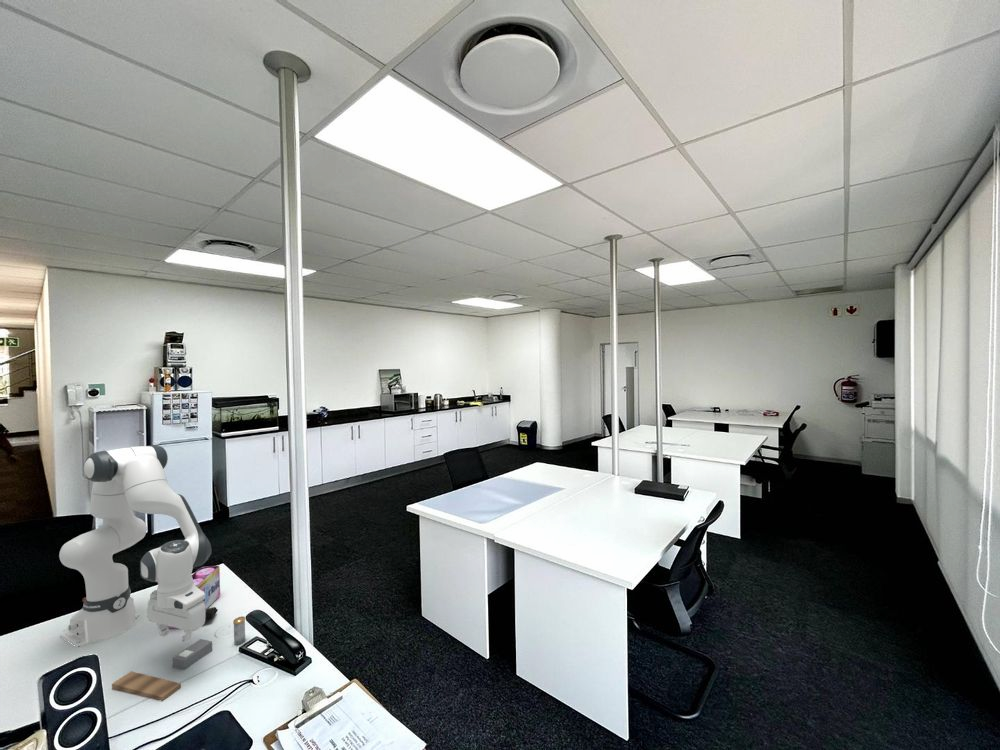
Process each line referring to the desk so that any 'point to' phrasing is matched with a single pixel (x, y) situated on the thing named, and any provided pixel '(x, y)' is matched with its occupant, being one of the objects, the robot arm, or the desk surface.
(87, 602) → the robot arm
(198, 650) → the block
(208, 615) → the tape measure
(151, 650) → the desk surface
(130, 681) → the strip
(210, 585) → the gum box
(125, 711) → the desk surface
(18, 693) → the desk surface
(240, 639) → the grey metal cylinder
